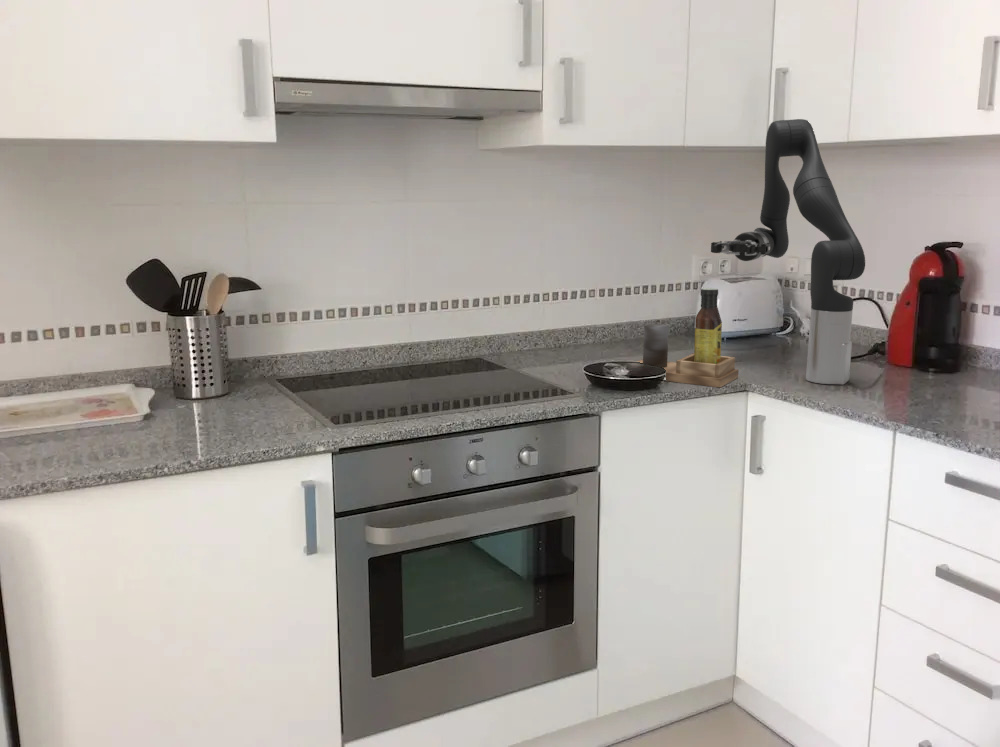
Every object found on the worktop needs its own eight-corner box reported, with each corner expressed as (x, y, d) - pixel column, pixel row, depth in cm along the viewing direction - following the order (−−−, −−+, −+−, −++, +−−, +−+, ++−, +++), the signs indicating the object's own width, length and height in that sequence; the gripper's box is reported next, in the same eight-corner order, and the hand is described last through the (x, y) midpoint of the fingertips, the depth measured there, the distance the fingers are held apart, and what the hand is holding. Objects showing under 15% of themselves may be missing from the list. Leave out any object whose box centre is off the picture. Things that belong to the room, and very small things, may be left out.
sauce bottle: (722, 374, 210) (726, 290, 206) (695, 374, 211) (699, 290, 207) (716, 368, 217) (720, 287, 213) (690, 368, 217) (694, 287, 213)
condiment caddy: (738, 377, 216) (740, 328, 214) (720, 387, 206) (723, 336, 203) (642, 366, 229) (644, 320, 227) (621, 375, 219) (622, 327, 216)
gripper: (725, 230, 240) (705, 233, 226) (779, 232, 232) (760, 235, 219) (724, 258, 241) (703, 263, 228) (777, 261, 234) (759, 265, 220)
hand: (731, 249), depth 223 cm, fingers open, 8 cm apart
